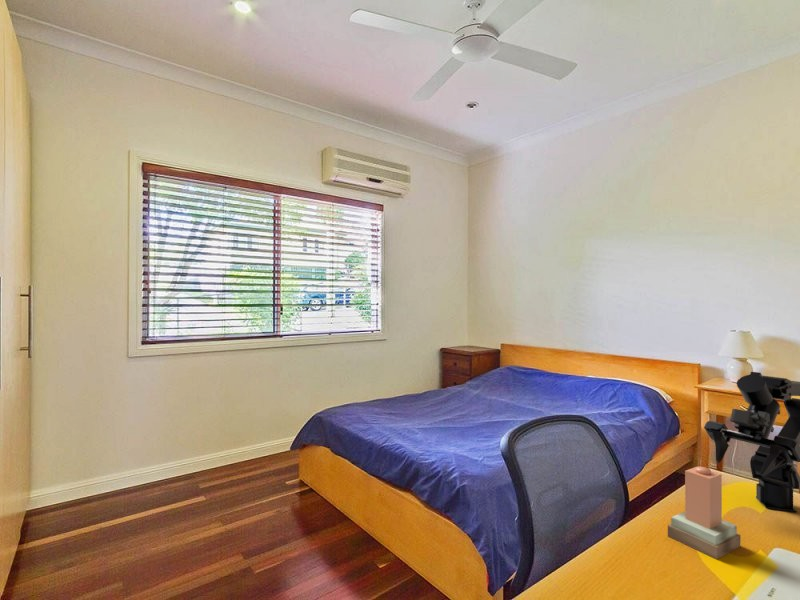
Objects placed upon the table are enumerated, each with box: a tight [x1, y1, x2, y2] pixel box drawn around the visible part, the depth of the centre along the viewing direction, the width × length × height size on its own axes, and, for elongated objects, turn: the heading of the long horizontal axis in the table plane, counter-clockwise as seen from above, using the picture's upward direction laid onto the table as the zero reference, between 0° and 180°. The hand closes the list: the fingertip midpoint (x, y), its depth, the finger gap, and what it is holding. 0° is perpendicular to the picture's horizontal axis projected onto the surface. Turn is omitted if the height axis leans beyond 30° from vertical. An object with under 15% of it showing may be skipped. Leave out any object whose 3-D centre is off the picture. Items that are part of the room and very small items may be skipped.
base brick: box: [667, 511, 742, 560], centre depth 95 cm, size 10×10×4 cm
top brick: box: [684, 466, 723, 529], centre depth 95 cm, size 5×5×12 cm
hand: (739, 468), depth 103 cm, fingers open, 9 cm apart
